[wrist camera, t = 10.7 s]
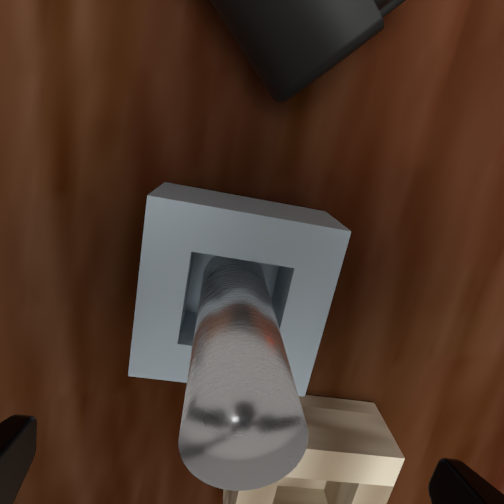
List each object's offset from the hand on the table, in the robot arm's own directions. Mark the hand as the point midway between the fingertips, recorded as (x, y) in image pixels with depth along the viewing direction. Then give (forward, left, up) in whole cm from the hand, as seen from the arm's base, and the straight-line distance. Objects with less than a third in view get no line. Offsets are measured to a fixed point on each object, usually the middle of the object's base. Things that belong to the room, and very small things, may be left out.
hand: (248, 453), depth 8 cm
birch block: (+6, -11, -11) cm, 17 cm away
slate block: (0, 0, -11) cm, 11 cm away
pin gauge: (0, 0, -10) cm, 10 cm away
